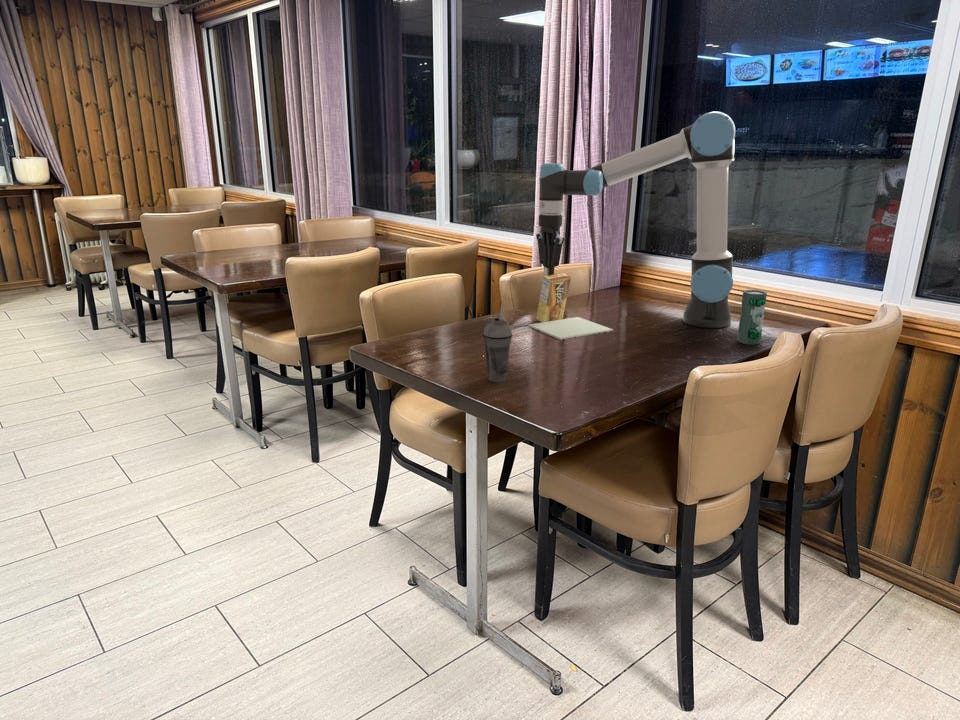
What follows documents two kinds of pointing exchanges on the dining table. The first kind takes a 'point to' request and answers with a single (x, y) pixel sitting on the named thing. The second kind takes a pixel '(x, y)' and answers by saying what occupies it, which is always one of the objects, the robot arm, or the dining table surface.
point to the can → (751, 316)
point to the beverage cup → (497, 347)
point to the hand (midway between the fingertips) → (548, 286)
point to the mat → (570, 328)
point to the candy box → (553, 297)
